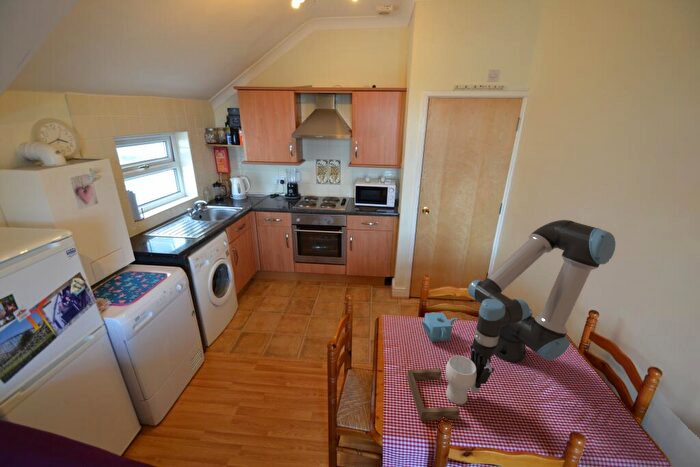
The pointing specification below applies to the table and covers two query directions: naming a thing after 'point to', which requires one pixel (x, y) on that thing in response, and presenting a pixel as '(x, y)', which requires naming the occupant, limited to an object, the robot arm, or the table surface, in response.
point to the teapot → (438, 326)
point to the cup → (459, 378)
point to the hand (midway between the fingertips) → (474, 391)
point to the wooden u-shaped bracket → (423, 412)
